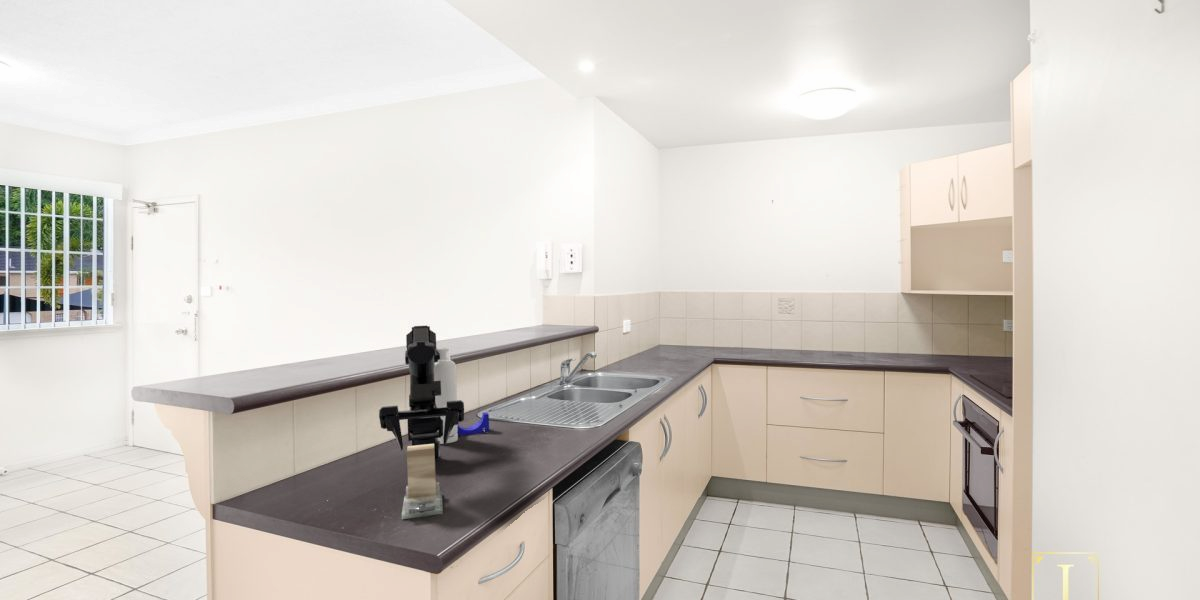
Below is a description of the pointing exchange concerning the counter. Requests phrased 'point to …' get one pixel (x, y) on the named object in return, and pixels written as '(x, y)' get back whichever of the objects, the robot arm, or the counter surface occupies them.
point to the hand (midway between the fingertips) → (423, 447)
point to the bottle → (446, 387)
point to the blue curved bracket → (476, 426)
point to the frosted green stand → (422, 505)
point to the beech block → (421, 471)
